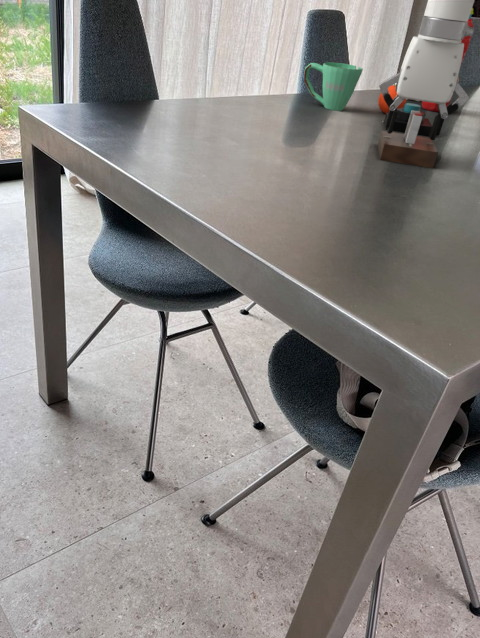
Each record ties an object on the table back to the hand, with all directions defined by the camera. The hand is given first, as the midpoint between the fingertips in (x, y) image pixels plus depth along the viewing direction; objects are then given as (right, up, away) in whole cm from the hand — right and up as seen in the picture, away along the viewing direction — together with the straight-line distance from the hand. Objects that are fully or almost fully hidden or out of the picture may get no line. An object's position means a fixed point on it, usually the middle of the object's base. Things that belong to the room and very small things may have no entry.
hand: (410, 134), depth 111 cm
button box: (+8, +12, +25) cm, 28 cm away
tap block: (0, -3, +2) cm, 4 cm away
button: (+8, +15, +22) cm, 28 cm away
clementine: (+9, +22, +39) cm, 45 cm away
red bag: (+25, +27, +49) cm, 61 cm away
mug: (-8, +23, +38) cm, 45 cm away
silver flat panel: (0, -1, +1) cm, 1 cm away
